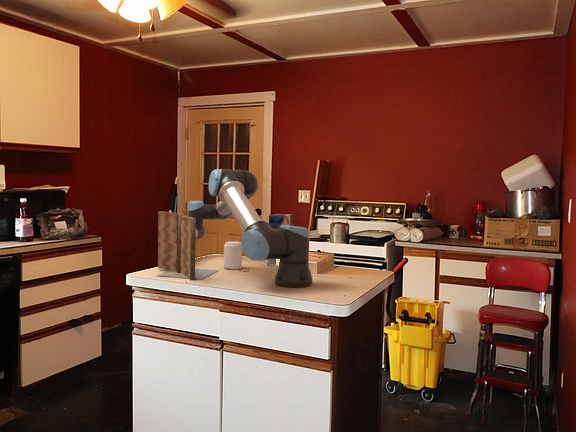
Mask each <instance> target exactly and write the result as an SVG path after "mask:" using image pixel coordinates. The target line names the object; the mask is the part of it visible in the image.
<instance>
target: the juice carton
mask: <svg viewBox="0 0 576 432" xmlns="http://www.w3.org/2000/svg"><path fill="white" fill-rule="evenodd" d="M293 216H294V215H293V214H285V213H275V214H269V215H268V224H269V225H270V227H271V228H272V229H280V226H281V225H289V226H293ZM267 266H268V267H277V266H276V259H270V260H267Z"/></svg>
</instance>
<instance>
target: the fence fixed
mask: <svg viewBox="0 0 576 432" xmlns="http://www.w3.org/2000/svg"><path fill="white" fill-rule="evenodd" d="M177 213H178V243H177V273H181V274H182V275H185V276H187V277H188V278H189V280H190V281H195V280H196V279H195V269H196V218H192V217H188V215H184V213H183V212H177Z"/></svg>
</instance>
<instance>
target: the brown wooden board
mask: <svg viewBox="0 0 576 432" xmlns="http://www.w3.org/2000/svg"><path fill="white" fill-rule="evenodd" d="M178 213H179V212H169V211H157V220H158V221H157V223H158V224H157V225H158V227H157V228H158V229H157V230H158V231H157V268H158V269H162V270H166V271H169V270H170V271H175V272H177V243H178Z"/></svg>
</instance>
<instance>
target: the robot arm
mask: <svg viewBox="0 0 576 432" xmlns="http://www.w3.org/2000/svg"><path fill="white" fill-rule="evenodd" d="M258 190H259V180H258V178H257V176H256V175H255V174H254V173H253V172H251V171H249V170H247V169H246V170H245V169H223V168H220V169H217V168H216V169H214V170H212V171H211V173H210V175H209V178H208V192H209V194H210V196H212V197H218V198H219V202H217V203H216V204H204V201H202V200H190V201H188V204H187V217H192V218H196V240H200V239H202V238H203V237H204V236H205V235H206V231H207V230H206V227H205V226H204V220H205V221H206V220H228V219H230V218H231V216H232V215H233V216H234V218H235V220H236V222H237V224H238V225H239V227H240V229H241V230H242V231H243V232H242V236H241V240H240V242H241V245H242V253H244V255H245V257H246V258H247V259H249V260H252V261H268V260H270V259H280V262H279V267H277V269H276V273H275V276H274V284H275V285H277V286H280V287H286V288H306V287H310V286H312V285H313V275H312V272H311V269H310V264H309V262H310V261H309V259H310V240H311V238H310V230H309V229H308V228H306V227H302V226H298V225H297V226H296V225H292V226H289V225H281V226H280V229H272V228H271V227H270V225H269V222H267V221H266V220H262V219H261V217H260V216H259V214H258V212H257V211H256V209H255V208H254V206H253V205H252V203H251V202H250V200H249V199H251V198H253V197H254V196H255V195H256V194H257V192H258Z"/></svg>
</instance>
